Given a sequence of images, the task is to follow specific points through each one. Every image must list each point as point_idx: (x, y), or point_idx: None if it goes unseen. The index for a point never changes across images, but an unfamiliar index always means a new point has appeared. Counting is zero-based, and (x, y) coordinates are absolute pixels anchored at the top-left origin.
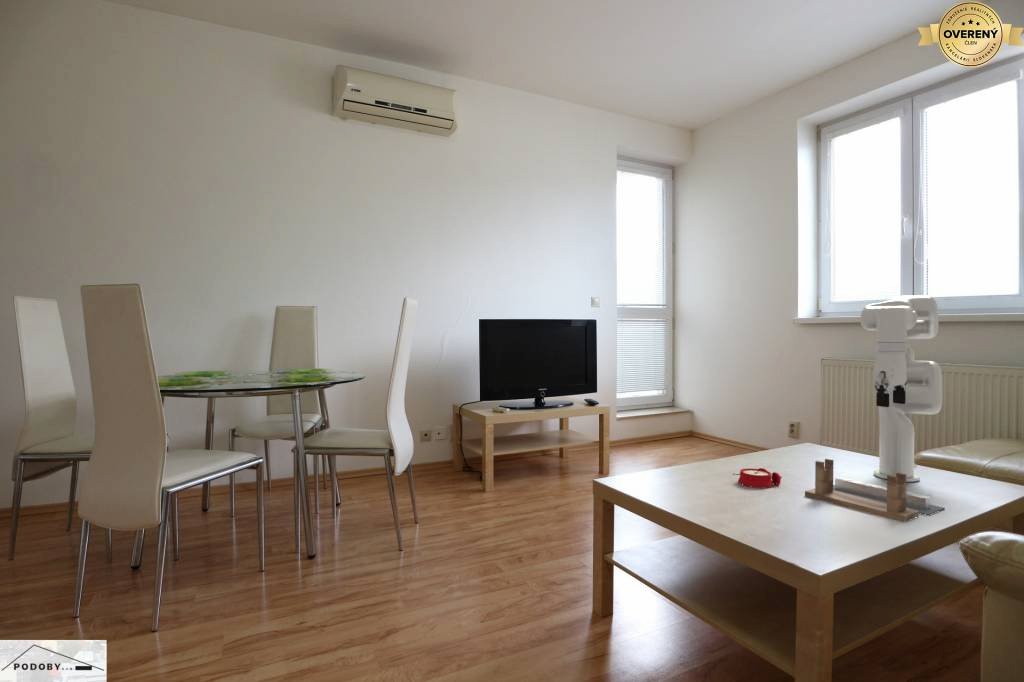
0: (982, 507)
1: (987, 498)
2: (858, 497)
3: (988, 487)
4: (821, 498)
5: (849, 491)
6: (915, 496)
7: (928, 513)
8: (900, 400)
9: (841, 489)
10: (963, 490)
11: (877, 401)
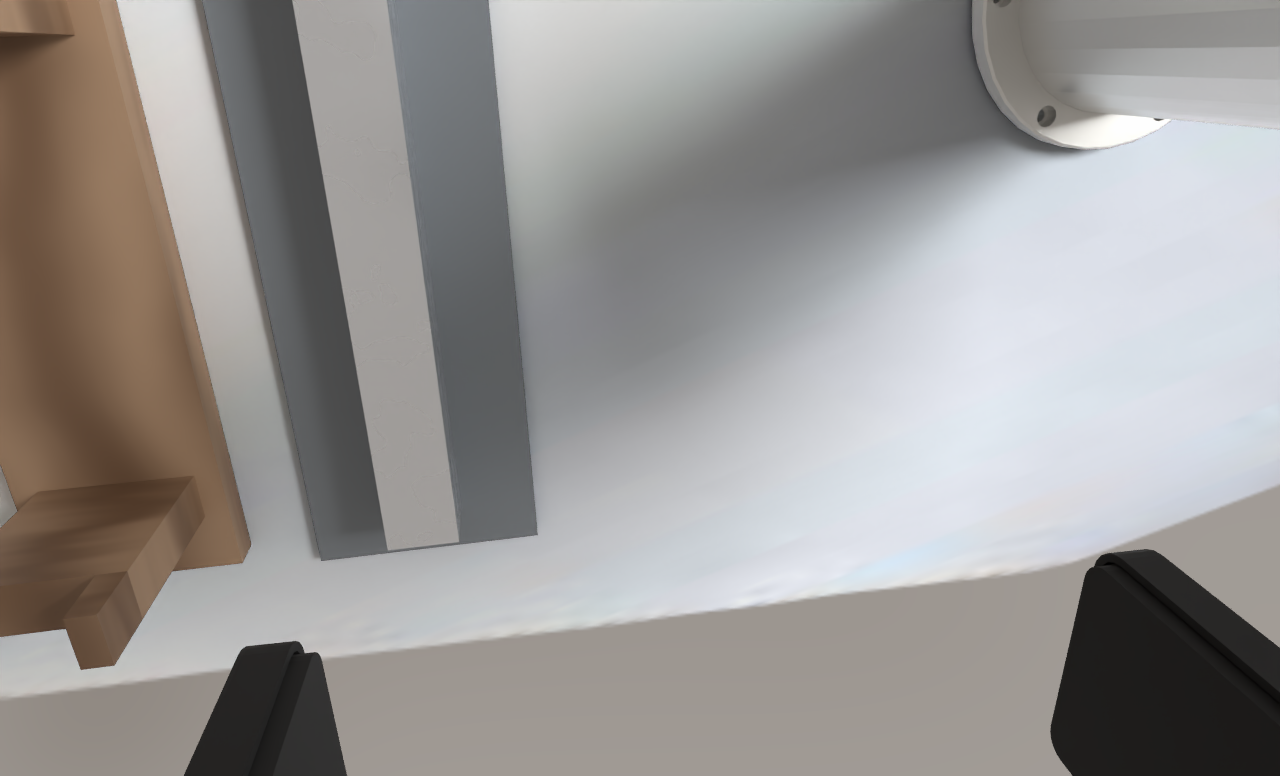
0: (757, 579)
1: (966, 512)
2: (132, 239)
3: (1225, 412)
4: None
5: None
6: (379, 500)
7: (332, 556)
8: (1107, 738)
9: None
10: (1053, 384)
11: (213, 751)
